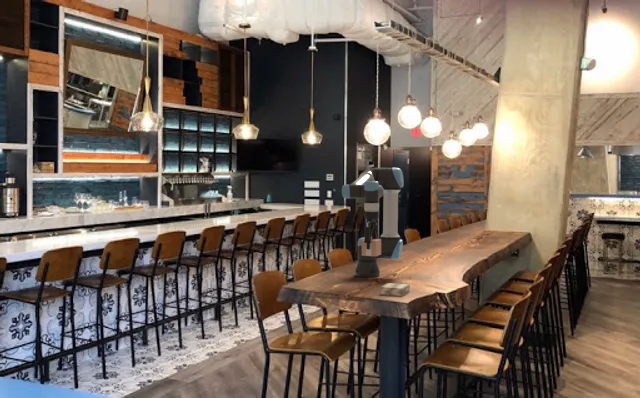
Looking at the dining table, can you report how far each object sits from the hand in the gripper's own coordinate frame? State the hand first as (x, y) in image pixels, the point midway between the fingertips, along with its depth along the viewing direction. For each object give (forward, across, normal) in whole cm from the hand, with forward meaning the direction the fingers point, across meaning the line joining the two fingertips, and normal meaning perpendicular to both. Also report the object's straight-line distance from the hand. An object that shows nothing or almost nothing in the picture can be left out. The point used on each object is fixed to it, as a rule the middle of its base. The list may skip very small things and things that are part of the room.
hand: (371, 254), depth 328 cm
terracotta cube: (0, 0, 0) cm, 0 cm away
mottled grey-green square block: (+20, 0, -13) cm, 24 cm away
